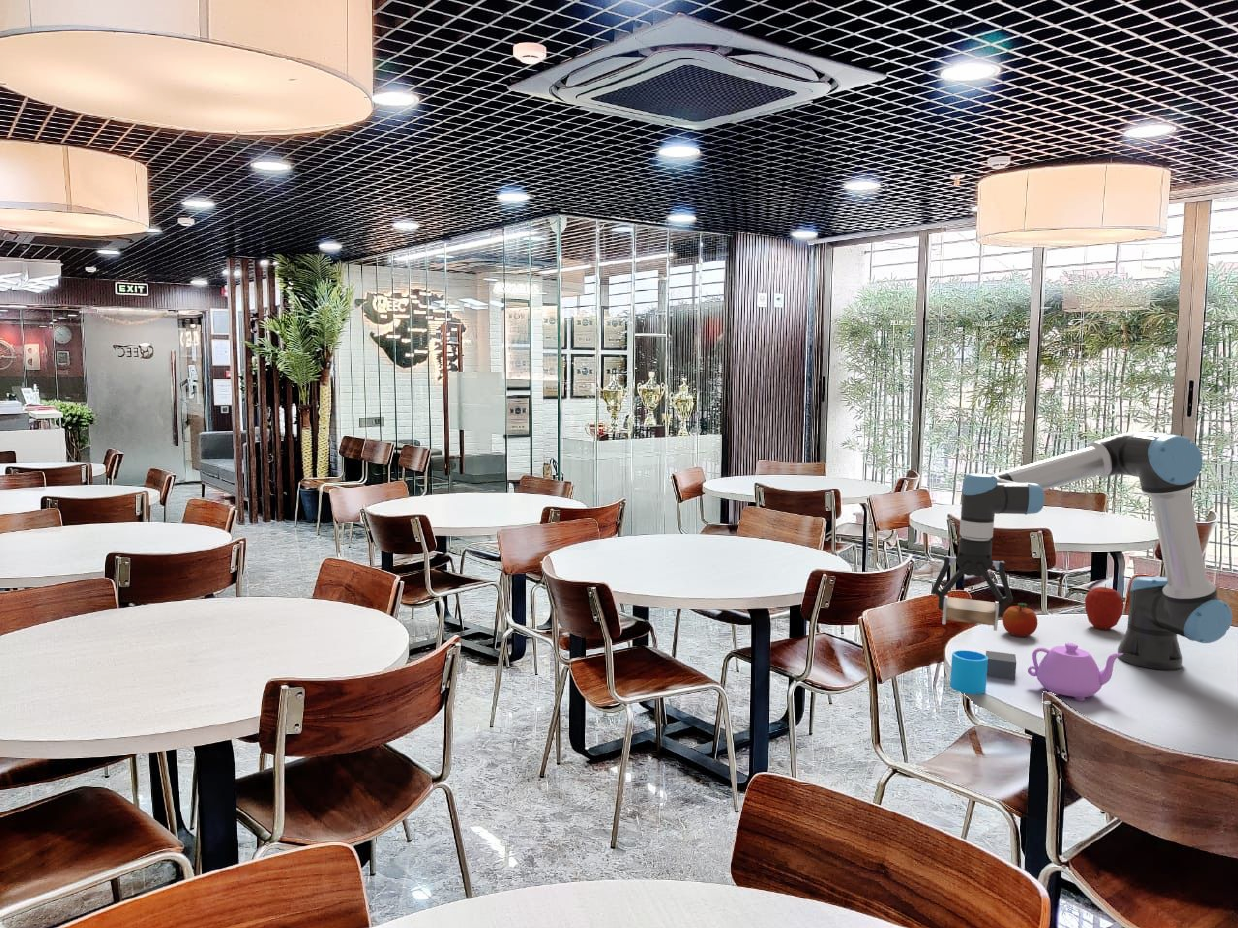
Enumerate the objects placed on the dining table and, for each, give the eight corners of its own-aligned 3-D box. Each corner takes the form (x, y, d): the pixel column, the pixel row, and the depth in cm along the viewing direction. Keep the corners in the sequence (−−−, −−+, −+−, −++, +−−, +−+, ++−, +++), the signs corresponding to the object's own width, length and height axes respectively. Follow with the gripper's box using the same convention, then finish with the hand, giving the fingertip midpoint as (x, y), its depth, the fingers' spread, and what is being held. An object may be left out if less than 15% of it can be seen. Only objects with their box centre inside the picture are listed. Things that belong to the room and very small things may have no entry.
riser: (1014, 671, 233) (1015, 654, 233) (1015, 679, 227) (1016, 662, 226) (984, 667, 236) (986, 650, 235) (985, 675, 229) (986, 658, 229)
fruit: (1032, 631, 270) (1035, 598, 269) (1039, 640, 260) (1042, 607, 259) (998, 628, 272) (1000, 596, 271) (1004, 637, 263) (1006, 604, 261)
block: (994, 614, 223) (994, 602, 223) (994, 625, 213) (995, 613, 213) (946, 608, 227) (947, 596, 227) (945, 619, 217) (946, 607, 217)
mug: (989, 695, 216) (992, 662, 215) (954, 692, 217) (956, 659, 216) (976, 678, 228) (979, 646, 227) (943, 675, 229) (945, 644, 228)
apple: (1126, 629, 274) (1130, 584, 273) (1113, 635, 268) (1117, 589, 266) (1090, 621, 282) (1094, 577, 281) (1077, 627, 275) (1081, 582, 274)
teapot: (1120, 693, 219) (1124, 644, 218) (1117, 711, 207) (1121, 660, 205) (1030, 677, 229) (1034, 630, 228) (1022, 693, 217) (1026, 644, 216)
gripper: (1028, 539, 217) (1021, 628, 220) (925, 530, 226) (920, 615, 228) (1029, 545, 210) (1022, 636, 213) (924, 535, 219) (918, 623, 221)
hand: (969, 626), depth 220 cm, fingers closed on block, 11 cm apart
